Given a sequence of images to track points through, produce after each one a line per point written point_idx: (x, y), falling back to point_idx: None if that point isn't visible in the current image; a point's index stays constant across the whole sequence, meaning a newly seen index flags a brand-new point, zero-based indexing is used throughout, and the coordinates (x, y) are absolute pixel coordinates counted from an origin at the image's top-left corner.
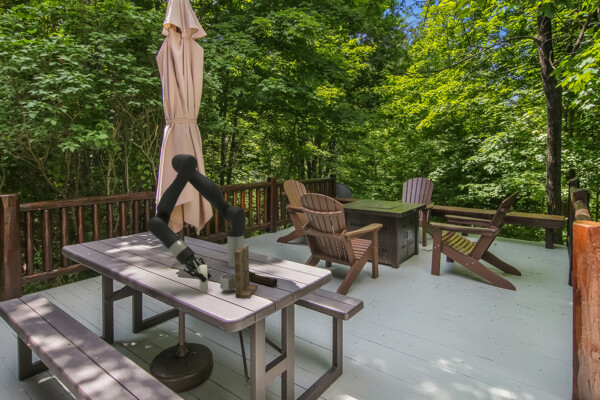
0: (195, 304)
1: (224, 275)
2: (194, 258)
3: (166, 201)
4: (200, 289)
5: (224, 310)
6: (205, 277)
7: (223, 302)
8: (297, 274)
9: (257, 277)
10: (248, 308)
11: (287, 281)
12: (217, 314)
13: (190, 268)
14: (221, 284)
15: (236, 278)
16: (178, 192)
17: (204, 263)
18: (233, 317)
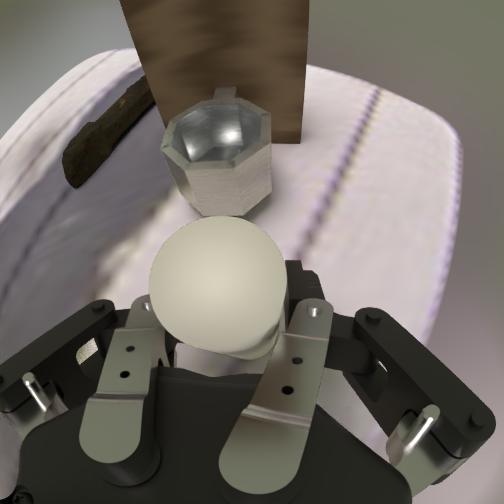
0: (429, 287)
1: (187, 160)
2: (73, 491)
3: None
4: (272, 346)
5: (420, 152)
6: (287, 267)
7: (365, 172)
8: (82, 85)
9: (122, 110)
10: (371, 98)
11: (130, 77)
12: (451, 166)
13: (450, 383)
14: (257, 185)
15: (304, 62)
16: None
17: (60, 333)
18: (438, 124)
